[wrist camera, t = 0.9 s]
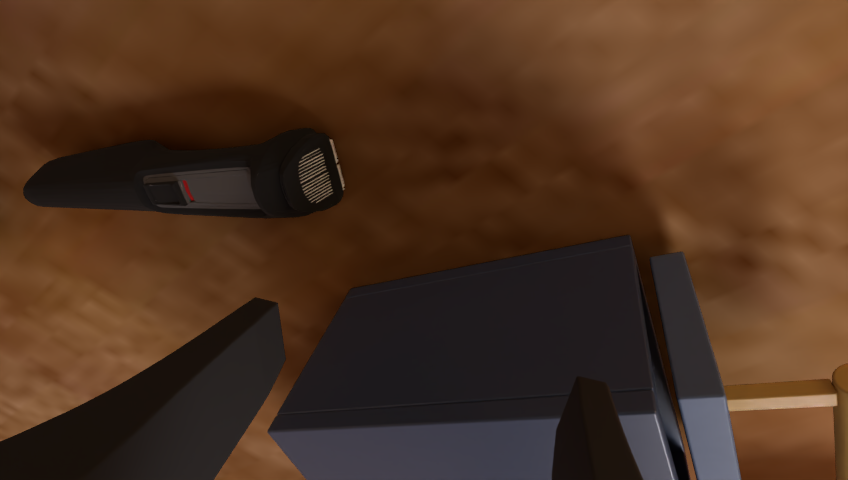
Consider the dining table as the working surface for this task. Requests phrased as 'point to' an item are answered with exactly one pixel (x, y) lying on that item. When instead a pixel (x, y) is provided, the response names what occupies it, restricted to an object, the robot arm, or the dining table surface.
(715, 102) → the dining table surface
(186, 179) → the electric trimmer
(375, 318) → the cabinet
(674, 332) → the drawer
